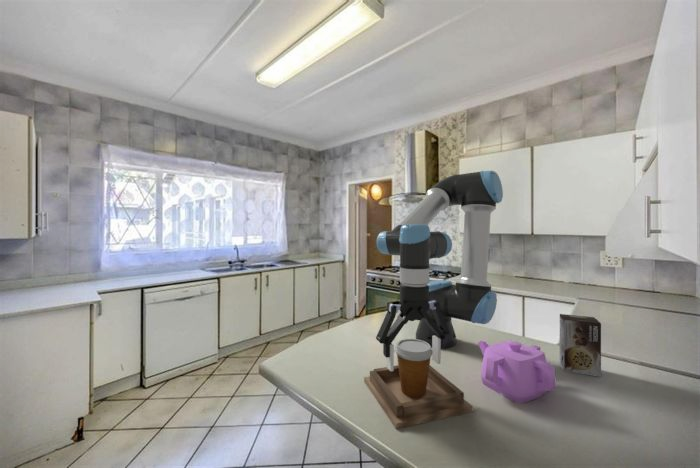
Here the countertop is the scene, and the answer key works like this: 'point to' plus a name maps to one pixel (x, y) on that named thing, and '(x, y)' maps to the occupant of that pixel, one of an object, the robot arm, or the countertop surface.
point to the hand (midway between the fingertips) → (413, 365)
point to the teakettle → (516, 370)
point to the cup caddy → (410, 410)
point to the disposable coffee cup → (413, 366)
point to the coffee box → (580, 344)
